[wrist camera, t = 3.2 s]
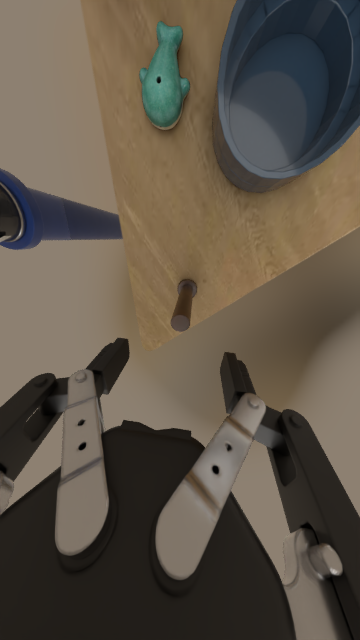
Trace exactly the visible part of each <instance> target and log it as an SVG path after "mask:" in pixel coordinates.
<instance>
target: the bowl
mask: <svg viewBox="0 0 360 640" xmlns="http://www.w3.org/2000/svg"><path fill="white" fill-rule="evenodd" d="M359 126H360V0H237V1H236V4H235V6H234V8H233V11H232V14H231V17H230V21H229V25H228V28H227V32H226V35H225V39H224V42H223V46H222V50H221V57H220V65H219V73H218V81H217V89H216V97H215V105H214V113H213V122H212V130H213V145H214V149H215V153H216V157H217V160H218V163H219V165H220V167H221V169H222V171H223V172H224V174H225V176H226V177H227V178H228V179H229V180H230V181H231V182H232V183H233V184H234V185H235V186H236V187H238V188H241V189H243V190H245V191H247V192H257V193H264V192H268V191H272V190H276V189H278V188H280V187H282V186H284V185H286V184H288V183H290V182H291V181H293V180H295V179H296V178H298V177H300V176H301V175H303V174H305V173H306V172H308V171H309V170H311V169H313V168H314V167H316V166H318V165H319V164H321V163H322V162H323V161H325V160H326V159H327V158H328V157H329V156H331V155H332V154H333V153H334V152H335V151H337V150H338V149H339V148H340V147H341V146H342V145H343V144H344V143H345V142H346V141H347V140H348V138H349V137H350V136H351V135H352V134H353V133H354V131H355V130H356V129H357V128H358V127H359Z"/></svg>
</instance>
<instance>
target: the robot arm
mask: <svg viewBox="0 0 360 640" xmlns="http://www.w3.org/2000/svg"><path fill="white" fill-rule="evenodd" d="M25 232H26V218H25V214H24V211H23V208H22V206H21V204H20V202H19V201H18V199H17V198H16V196H15V195H14V193H13V192H12V191H11V190H10V189H9V188H8V187H7V186H6V185H5V184H4V183H3V182H2V181H0V242H2V241H3V242H16V241H19V240H20V239H22V238H23V236H24V235H25ZM128 359H129V343H128V339H124V338H117V339H116V341H115V342H114V343H110V344H108V345H107V346H105V347H104V348H103V349H102V350H101V352H100V353H99V354H98V356H96V357H95V359H94V360H93V361H92V362H91V363H90V364H89V365H88V367H87V368H86V369H84V370H80V371H77V372H75V373H74V374H72V375H71V376H70V377H67V378H59V379H56V377H55V376H54V374H52V373H45V374H41V375H38V376H36V377H35V378H33V379H31V380H30V381H29V382H28V383H27V384H26V385H25V386H24V387H22V389H20V390H19V391H18V392H17V393H16V394H15V395H14V396H12V398H10V399H9V400H8V401H7V402H6V403H5V404H4V405H3V406H1V407H0V640H360V517H359V515H358V513H357V512H356V510H355V508H354V506H353V504H352V502H351V500H350V499H349V497H348V495H347V493H346V491H345V489H344V487H343V486H342V484H341V482H340V480H339V478H338V476H337V475H336V473H335V471H334V469H333V467H332V465H331V464H330V462H329V460H328V458H327V456H326V454H325V453H324V450H323V449H322V447H321V445H320V443H319V441H318V439H317V438H316V436H315V434H314V432H313V430H312V428H311V426H310V425H309V423H308V421H307V420H306V419H305V418H304V417H303V416H302V415H301V414H299V413H298V412H295V411H294V410H289V409H286V410H283V412H282V413H281V412H279V411H276V410H274V409H271V408H269V407H268V406H266V405H265V403H264V402H263V400H262V399H261V398H259V397H258V396H257V395H256V393H255V390H254V387H253V384H252V382H251V379H250V377H249V374H248V371H247V368H246V366H245V364H244V363H243V362H242V361H240V360H237V358H236V355H235V354H234V353H229V352H225V353H224V356H223V360H222V363H221V367H220V374H221V381H222V387H223V394H224V399H225V406H226V413H228V414H230V415H229V417H228V416H227V417H226V419H225V420H224V421H223V423H222V425H221V426H220V427H219V429H218V430H217V432H216V433H215V435H214V437H213V438H212V439H211V441H210V442H209V444H208V445H207V447H206V448H205V447H204V446H203V445H202V444H201V443H200V442H199V441H197V440H196V439H194V438H193V437H191V431H189V430H183V429H176V428H171V429H164V430H154V429H152V428H150V427H148V426H146V425H144V424H142V423H139V422H133V421H127V420H123V422H122V425H121V426H117V427H114V428H111V429H109V430H107V431H105V426H104V421H103V414H102V408H101V402H100V397H101V395H102V394H109V392H110V390H111V389H112V387H113V385H114V384H115V382H116V380H117V378H118V377H119V375H120V373H121V372H122V370H123V368H124V366H125V365H126V363H127V361H128ZM37 408H38V409H37ZM36 409H37V410H36ZM35 410H36V412H35ZM33 412H35V413H34V414H33ZM63 412H64V418H63V420H64V421H63V441H62V463H61V466H60V467H59V468H58V469H56V470H55V471H54V472H53V473H51V474H50V475H49V476H48V477H46V478H45V479H44V480H43V481H41V482H40V483H39V484H38V485H36V486H35V487H34V488H33V489H31V490H30V491H29V492H27V493H26V494H25V495H24V496H22V497H21V498H20V499H19V500H17V501H16V502H15V503H14V504H12V505H11V506H10V507H9V508H8V509H6V507H7V506H8V504H9V499H10V497H11V495H12V493H13V490H14V483H13V482H14V480H15V479H16V478H17V476H18V475H19V473H20V472H21V471H22V469H23V468H24V466H25V465H26V464H27V462H28V461H29V459H30V458H31V457H32V455H33V454H34V452H35V451H36V450H37V448H38V447H39V445H40V444H41V443H42V441H43V440H44V438H45V437H46V436H47V434H48V433H49V431H50V430H51V429H52V427H53V425H54V424H55V423H56V422H57V420H58V419H59V417H60V416H61V415H62V413H63ZM32 414H33V415H32ZM31 415H32V416H31ZM30 416H31V417H30ZM29 417H30V418H29ZM28 418H29V420H28ZM27 420H28V421H27ZM26 421H27V422H26ZM253 440H256V441H258V442H260V443H262V444H264V445H266V447H267V450H268V454H269V457H270V461H271V465H272V468H273V472H274V476H275V479H276V483H277V486H278V490H279V494H280V497H281V501H282V504H283V508H284V512H285V515H286V519H287V523H288V526H289V530H290V534H289V535H287V536H286V538H285V540H284V544H283V553H284V560H285V574H284V578H283V580H282V581H281V579H280V576H279V574H278V572H277V570H276V568H275V566H274V564H273V562H272V560H271V559H270V557H269V555H268V553H267V552H266V550H265V548H264V546H263V545H262V543H261V541H260V540H259V538H258V536H257V535H256V533H255V531H254V530H253V528H252V526H251V524H250V522H249V521H248V519H247V517H246V516H245V514H244V513H243V510H242V509H241V507H240V505H239V504H238V502H237V500H236V498H235V497H234V495H233V493H232V492H231V489H232V486H233V484H234V482H235V480H236V477H237V475H238V473H239V471H240V469H241V467H242V464H243V462H244V460H245V458H246V455H247V453H248V451H249V449H250V447H251V444H252V442H253ZM5 509H6V510H5ZM4 510H5V511H4ZM3 511H4V512H3Z"/></svg>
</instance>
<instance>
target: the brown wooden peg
mask: <svg viewBox="0 0 360 640" xmlns="http://www.w3.org/2000/svg"><path fill="white" fill-rule="evenodd" d="M196 292H197V286H196V284H195V282H194V281H193V280H190V279H185V280H182V281H181V282H180V283H179V286H178V294H179V298H178V301H177V304H176V307H175V310H174V313H173V316H172V319H171V326H172V328H173V329H174V330H176V331H180V332H182V331H185V330H187V329H188V328H189V326H190V318H191V307H192V298H193V297H194V296H195V295H196Z"/></svg>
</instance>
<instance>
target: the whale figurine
mask: <svg viewBox="0 0 360 640" xmlns="http://www.w3.org/2000/svg"><path fill="white" fill-rule="evenodd" d="M156 30H157V39H158V43H159V47H158V48H157V50H156V52H155V54H154V56H153V58H152V61H151V63H150V65H149V68H148V70H147V69H146V68H142V69H141V70H140V74H139V75H140V80H141V83H142V100H143V105H144V109H145V112H146V114H147V116H148V118H149V120H150V121H151V123H152V124H153V125H154V126H155V127H157V128H159V129H162V130H168V129H171V128H173V127H174V126H175V125H176V124H177V122H178V121H179V119H180V117H181V114H182V109H183V100H184V98H185V97H186V95H187V94H188V92H189V90H190V83H189V81H188V79H187V78H181V77H180V74H179V67H178V62H177V51H178V49H179V47H180V45H181V42H182V39H183V31H182V28H181V27H180V26H175V27H169V26H167V25H165V24H164V23H163V22H162V21H160V22H158V24H157V29H156Z"/></svg>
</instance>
